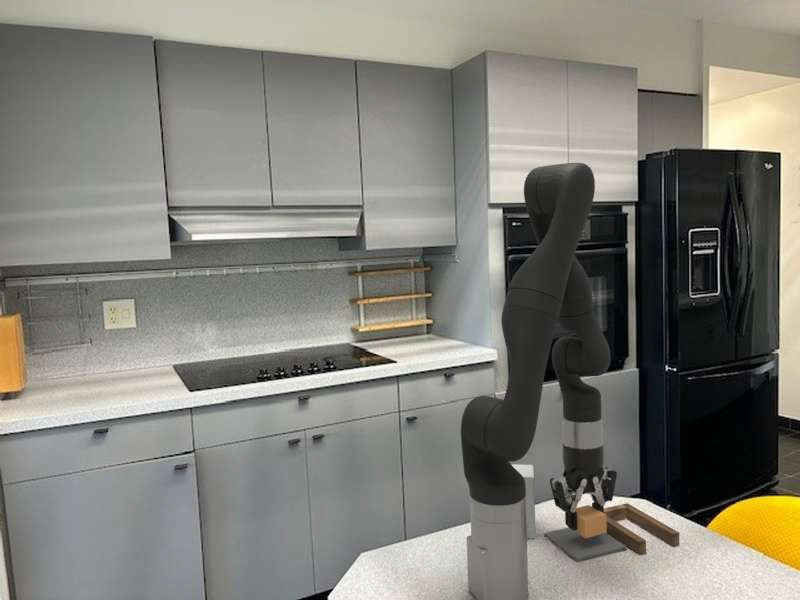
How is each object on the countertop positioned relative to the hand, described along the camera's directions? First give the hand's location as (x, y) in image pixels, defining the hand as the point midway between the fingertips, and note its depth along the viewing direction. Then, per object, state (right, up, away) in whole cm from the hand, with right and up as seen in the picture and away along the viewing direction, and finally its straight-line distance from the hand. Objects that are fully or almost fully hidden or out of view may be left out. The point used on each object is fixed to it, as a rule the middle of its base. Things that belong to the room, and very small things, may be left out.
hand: (584, 525), depth 118 cm
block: (0, -1, -1) cm, 1 cm away
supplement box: (-12, -4, +7) cm, 14 cm away
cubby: (+11, -3, +3) cm, 11 cm away
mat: (0, -3, 0) cm, 3 cm away
